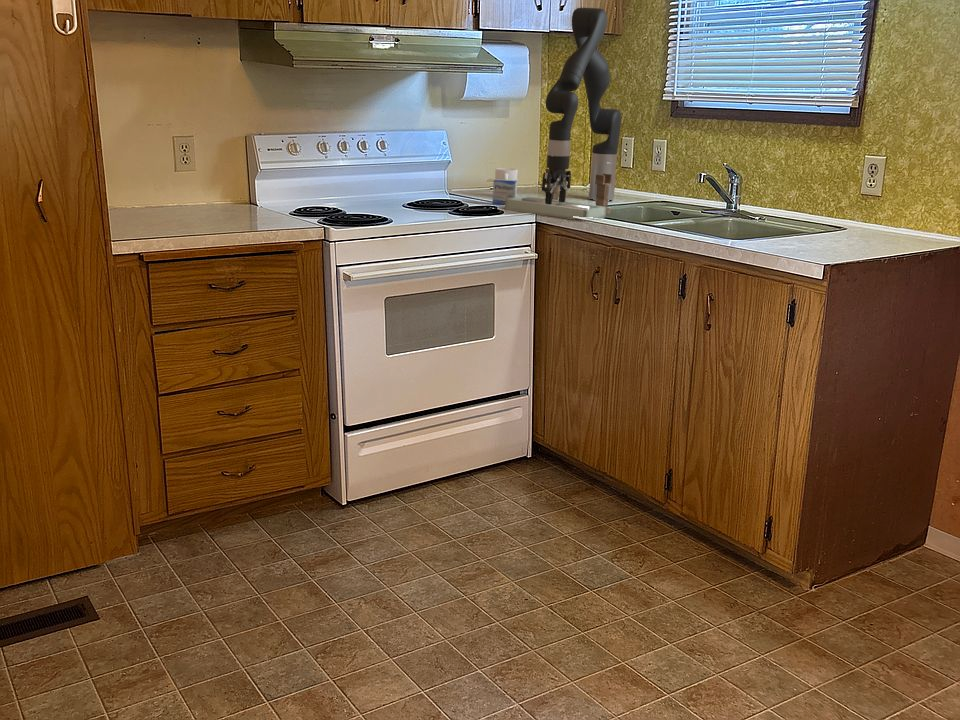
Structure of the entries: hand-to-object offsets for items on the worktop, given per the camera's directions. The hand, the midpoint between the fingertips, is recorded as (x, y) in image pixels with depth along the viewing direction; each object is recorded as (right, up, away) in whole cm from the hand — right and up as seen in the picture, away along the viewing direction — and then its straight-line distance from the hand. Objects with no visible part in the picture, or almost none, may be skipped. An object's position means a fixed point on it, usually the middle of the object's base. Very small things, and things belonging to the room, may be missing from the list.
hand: (555, 203), depth 311 cm
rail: (0, -2, +1) cm, 3 cm away
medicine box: (-17, +2, +16) cm, 23 cm away
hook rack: (+8, 0, +12) cm, 14 cm away
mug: (-16, +8, +33) cm, 38 cm away
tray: (0, -3, +1) cm, 3 cm away
